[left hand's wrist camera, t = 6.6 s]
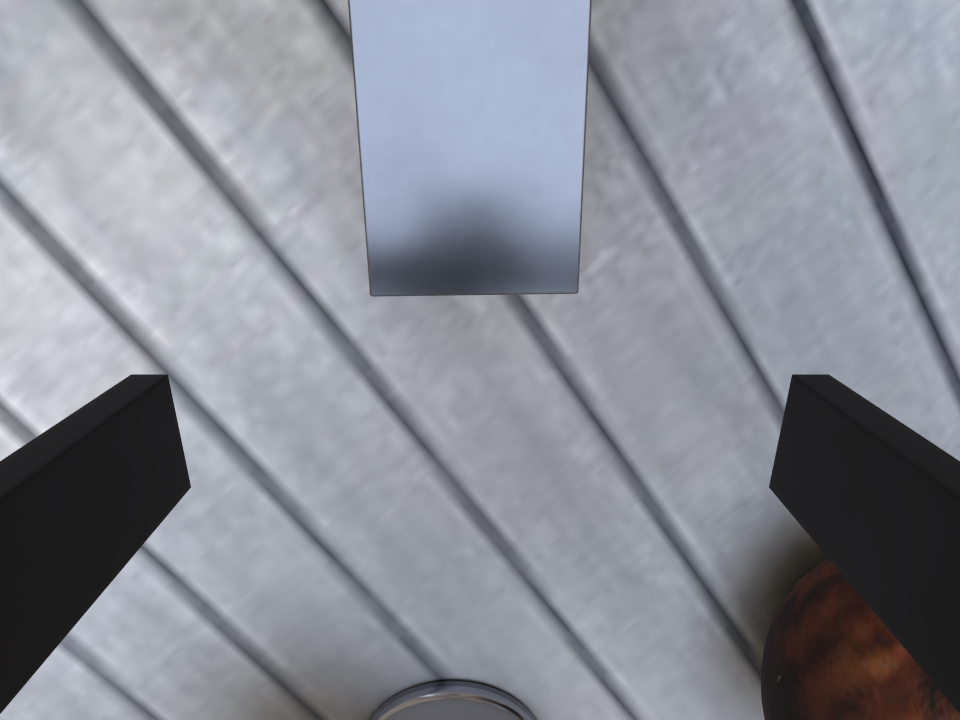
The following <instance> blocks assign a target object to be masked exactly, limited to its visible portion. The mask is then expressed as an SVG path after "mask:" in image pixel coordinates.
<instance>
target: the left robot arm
mask: <svg viewBox="0 0 960 720" xmlns="http://www.w3.org/2000/svg"><path fill="white" fill-rule="evenodd" d="M190 488H191V485H190V480H189V475H188V470H187V466H186V461H185V456H184V451H183V446H182V441H181V437H180V432H179V427H178V422H177V417H176V412H175V407H174V403H173V398H172V393H171V388H170V383H169V378H168V375H130V376H128V377H127V378H125V379H124V380H122V381H121V382H119V383H118V384H116V385H115V386H113V387H112V388H110V389H109V390H107V391H106V392H104V393H103V394H101V395H100V396H98V397H97V398H95V399H94V400H92V401H91V402H89V403H88V404H86V405H85V406H83V407H82V408H80V409H79V410H77V411H76V412H74V413H73V414H71V415H70V416H68V417H67V418H65V419H64V420H62V421H61V422H59V423H58V424H56V425H54V426H53V427H51V428H50V429H48V430H47V431H45V432H44V433H42V434H41V435H39V436H38V437H36V438H35V439H33V440H32V441H30V442H29V443H27V444H26V445H24V446H23V447H21V448H20V449H18V450H17V451H15V452H14V453H12V454H11V455H9V456H8V457H6V458H5V459H3V460H2V461H0V714H1V712H2V711H3V710H4V709H5V708H6V706H7V705H8V704H9V703H10V702H11V700H12V699H13V698H14V697H15V696H16V695H17V693H18V692H19V691H20V690H21V689H22V687H23V686H24V685H25V684H26V683H27V681H28V680H29V679H30V678H31V677H32V676H33V674H34V673H35V672H36V671H37V670H38V668H39V667H40V666H41V665H42V664H43V662H44V661H45V660H46V659H47V658H48V657H49V655H50V654H51V653H52V652H53V651H54V649H55V648H56V647H57V646H58V645H59V643H60V642H61V641H62V640H63V639H64V637H65V636H66V635H67V634H68V633H69V632H70V630H71V629H72V628H73V627H74V626H75V624H76V623H77V622H78V621H79V620H80V618H81V617H82V616H83V615H84V614H85V613H86V611H87V610H88V609H89V608H90V607H91V605H92V604H93V603H94V602H95V601H96V599H97V598H98V597H99V596H100V595H101V594H102V592H103V591H104V590H105V589H106V588H107V586H108V585H109V584H110V583H111V582H112V580H113V579H114V578H115V577H116V576H117V574H118V573H119V572H120V571H121V570H122V569H123V567H124V566H125V565H126V564H127V563H128V561H129V560H130V559H131V558H132V557H133V555H134V554H135V553H136V552H137V551H138V550H139V548H140V547H141V546H142V545H143V544H144V542H145V541H146V540H147V539H148V538H149V536H150V535H151V534H152V533H153V532H154V531H155V529H156V528H157V527H158V526H159V525H160V523H161V522H162V521H163V520H164V519H165V517H166V516H167V515H168V514H169V513H170V511H171V510H172V509H173V508H174V507H175V506H176V504H177V503H178V502H179V501H180V500H181V498H182V497H183V496H184V495H185V494H186V492H187V491H188V490H189V489H190ZM769 488H770V489H771V490H772V491H773V492H774V494H775V495H776V496H777V497H778V498H779V500H780V501H781V502H782V503H783V504H784V506H785V507H786V508H787V509H788V510H789V511H790V513H791V514H792V515H793V516H794V517H795V519H796V520H797V521H798V522H799V523H800V525H801V526H802V527H803V528H804V529H805V531H806V532H807V533H808V534H809V535H810V536H811V538H812V539H813V540H814V541H815V542H816V544H817V545H818V546H819V547H820V548H821V550H822V551H823V552H824V553H825V554H826V555H827V557H828V558H829V559H830V560H831V561H832V563H833V564H834V565H835V566H836V567H837V569H838V570H839V571H840V572H841V573H842V574H843V576H844V577H845V578H846V579H847V580H848V582H849V583H850V584H851V585H852V586H853V588H854V589H855V590H856V591H857V592H858V594H859V595H860V596H861V597H862V598H863V599H864V601H865V602H866V603H867V604H868V605H869V607H870V608H871V609H872V610H873V611H874V613H875V614H876V615H877V616H878V617H879V618H880V620H881V621H882V622H883V623H884V624H885V626H886V627H887V628H888V629H889V630H890V632H891V633H892V634H893V635H894V636H895V637H896V639H897V640H898V641H899V642H900V643H901V645H902V646H903V647H904V648H905V649H906V651H907V652H908V653H909V654H910V655H911V657H912V658H913V659H914V660H915V661H916V662H917V664H918V665H919V666H920V667H921V668H922V670H923V671H924V672H925V673H926V674H927V676H928V677H929V678H930V679H931V680H932V681H933V683H934V684H935V685H936V686H937V687H938V689H939V690H940V691H941V692H942V693H943V695H944V696H945V697H946V698H947V699H948V700H949V702H950V703H951V704H952V705H953V706H954V708H955V709H956V710H957V711H958V712H959V714H960V461H958V460H957V459H955V458H954V457H952V456H951V455H949V454H948V453H946V452H945V451H943V450H942V449H940V448H939V447H937V446H936V445H934V444H933V443H931V442H930V441H928V440H927V439H925V438H924V437H922V436H921V435H919V434H918V433H916V432H915V431H913V430H912V429H910V428H909V427H907V426H906V425H904V424H902V423H901V422H899V421H898V420H896V419H895V418H893V417H892V416H890V415H889V414H887V413H886V412H884V411H883V410H881V409H880V408H878V407H877V406H875V405H874V404H872V403H871V402H869V401H868V400H866V399H865V398H863V397H862V396H860V395H859V394H857V393H856V392H854V391H853V390H851V389H850V388H848V387H847V386H845V385H844V384H842V383H841V382H839V381H838V380H836V379H835V378H833V377H832V376H830V375H792V378H791V383H790V388H789V393H788V398H787V403H786V407H785V412H784V417H783V422H782V427H781V432H780V437H779V441H778V446H777V451H776V456H775V461H774V466H773V470H772V475H771V480H770V485H769ZM369 720H536V719H535V718H534V716H533V715H532V714H531V712H530V711H529V710H528V709H527V708H526V707H525V706H524V705H522V704H521V703H520V702H519V701H517V700H516V699H514V698H513V697H511V696H510V695H508V694H506V693H504V692H502V691H500V690H497V689H495V688H492V687H489V686H486V685H482V684H477V683H472V682H463V681H441V682H433V683H428V684H423V685H420V686H416V687H413V688H410V689H408V690H405V691H403V692H401V693H399V694H397V695H395V696H394V697H392V698H390V699H389V700H388V701H386V702H385V703H384V704H383V705H381V706H380V707H379V708H378V709H377V710H376V711H375V713H374V714H373V715H372V716H371V718H370V719H369Z"/></svg>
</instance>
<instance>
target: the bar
mask: <svg viewBox="0 0 960 720" xmlns="http://www.w3.org/2000/svg"><path fill="white" fill-rule="evenodd" d="M591 2H592V0H348V6H349V19H350V33H351V46H352V59H353V73H354V86H355V100H356V113H357V126H358V140H359V153H360V166H361V180H362V193H363V206H364V220H365V233H366V246H367V260H368V273H369V287H370V295H371V296H438V295H511V294H576V293H578V286H579V265H580V243H581V221H582V199H583V177H584V155H585V133H586V112H587V90H588V68H589V46H590V24H591Z"/></svg>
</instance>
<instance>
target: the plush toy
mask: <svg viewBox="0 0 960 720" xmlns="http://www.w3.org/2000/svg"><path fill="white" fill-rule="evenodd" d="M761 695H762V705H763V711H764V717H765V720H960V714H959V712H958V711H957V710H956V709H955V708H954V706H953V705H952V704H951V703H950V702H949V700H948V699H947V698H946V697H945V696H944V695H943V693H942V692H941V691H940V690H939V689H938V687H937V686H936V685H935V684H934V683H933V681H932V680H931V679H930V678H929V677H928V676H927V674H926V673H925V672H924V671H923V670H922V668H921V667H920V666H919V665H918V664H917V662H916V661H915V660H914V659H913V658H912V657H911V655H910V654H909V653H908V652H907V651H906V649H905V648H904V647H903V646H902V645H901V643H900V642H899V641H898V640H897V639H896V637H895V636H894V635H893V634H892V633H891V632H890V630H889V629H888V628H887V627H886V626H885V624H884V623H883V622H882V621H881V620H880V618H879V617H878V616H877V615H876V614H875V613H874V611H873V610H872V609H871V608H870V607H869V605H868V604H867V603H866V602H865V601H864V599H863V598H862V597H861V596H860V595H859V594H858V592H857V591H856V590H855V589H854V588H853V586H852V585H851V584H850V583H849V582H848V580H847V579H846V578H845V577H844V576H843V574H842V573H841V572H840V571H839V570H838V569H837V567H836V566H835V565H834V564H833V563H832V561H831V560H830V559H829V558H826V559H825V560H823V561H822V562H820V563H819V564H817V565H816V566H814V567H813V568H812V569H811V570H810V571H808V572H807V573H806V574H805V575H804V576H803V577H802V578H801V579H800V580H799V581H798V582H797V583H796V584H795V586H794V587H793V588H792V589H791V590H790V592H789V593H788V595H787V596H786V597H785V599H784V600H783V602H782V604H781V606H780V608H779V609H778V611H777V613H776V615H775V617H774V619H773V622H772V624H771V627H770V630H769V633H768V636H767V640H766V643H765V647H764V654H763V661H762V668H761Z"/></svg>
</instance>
